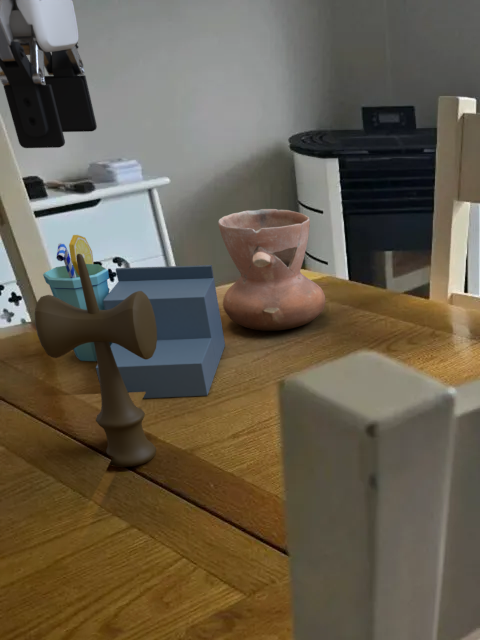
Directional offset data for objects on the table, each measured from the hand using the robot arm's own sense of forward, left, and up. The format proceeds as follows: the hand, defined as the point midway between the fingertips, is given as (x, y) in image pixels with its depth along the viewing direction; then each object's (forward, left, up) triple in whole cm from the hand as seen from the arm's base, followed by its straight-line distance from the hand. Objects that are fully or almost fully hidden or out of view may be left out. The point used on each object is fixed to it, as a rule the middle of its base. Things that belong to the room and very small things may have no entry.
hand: (61, 138), depth 66 cm
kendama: (-1, +1, -29) cm, 29 cm away
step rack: (-2, +27, -29) cm, 40 cm away
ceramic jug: (+11, +45, -29) cm, 55 cm away
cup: (-12, +33, -29) cm, 46 cm away
